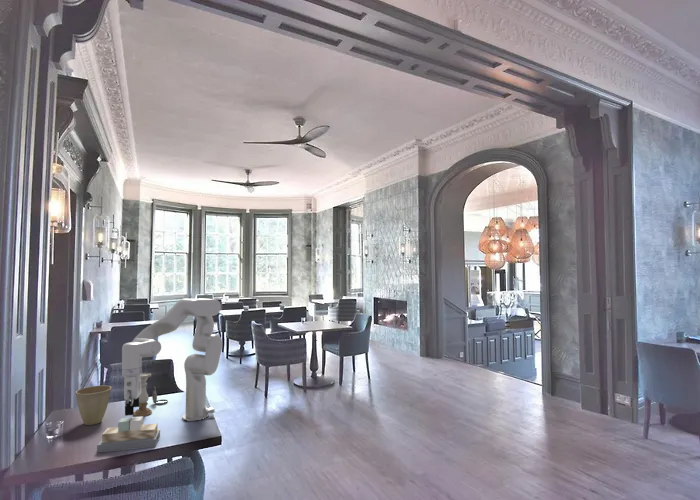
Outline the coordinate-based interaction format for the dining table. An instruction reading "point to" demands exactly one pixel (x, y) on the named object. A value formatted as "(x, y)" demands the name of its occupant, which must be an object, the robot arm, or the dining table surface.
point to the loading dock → (128, 444)
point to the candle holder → (143, 398)
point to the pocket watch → (156, 397)
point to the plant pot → (93, 403)
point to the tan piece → (129, 433)
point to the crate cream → (136, 423)
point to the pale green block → (124, 424)
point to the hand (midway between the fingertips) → (132, 410)
